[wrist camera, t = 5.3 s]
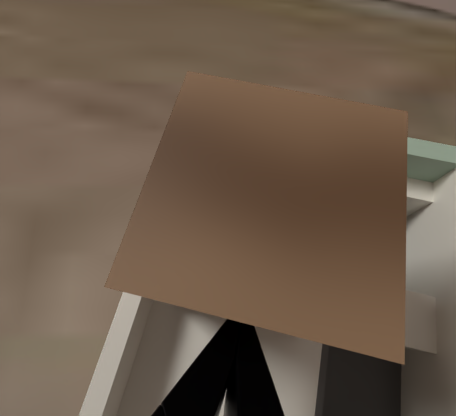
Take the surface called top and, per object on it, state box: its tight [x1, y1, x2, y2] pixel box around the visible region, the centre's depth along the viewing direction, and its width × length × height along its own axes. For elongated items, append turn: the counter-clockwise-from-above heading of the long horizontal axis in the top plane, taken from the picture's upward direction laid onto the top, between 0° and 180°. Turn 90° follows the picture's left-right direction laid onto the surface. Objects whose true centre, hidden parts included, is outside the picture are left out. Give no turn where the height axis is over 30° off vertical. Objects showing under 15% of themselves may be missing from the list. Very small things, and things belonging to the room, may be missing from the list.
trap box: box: [79, 137, 456, 416], centre depth 14 cm, size 17×15×5 cm
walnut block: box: [104, 71, 408, 365], centre depth 10 cm, size 6×6×8 cm
